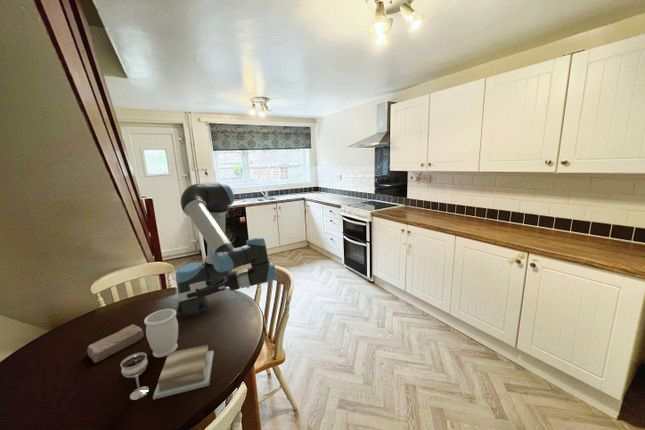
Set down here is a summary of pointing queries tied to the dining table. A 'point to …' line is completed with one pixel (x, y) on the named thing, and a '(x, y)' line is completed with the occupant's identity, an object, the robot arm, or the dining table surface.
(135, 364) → the wineglass
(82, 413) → the dining table surface
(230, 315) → the dining table surface
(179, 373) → the plinth
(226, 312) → the dining table surface
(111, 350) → the brick
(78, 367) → the dining table surface
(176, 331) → the jar
